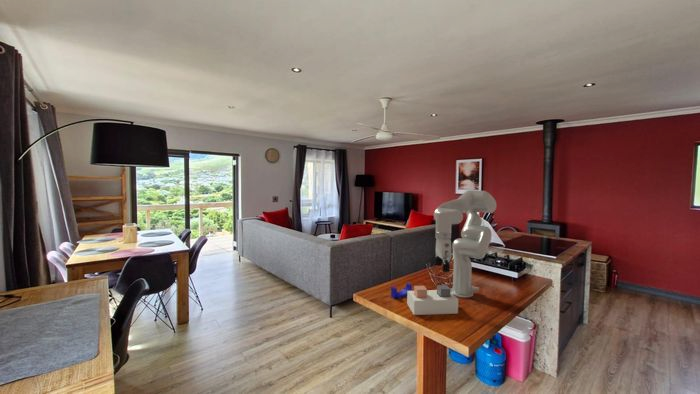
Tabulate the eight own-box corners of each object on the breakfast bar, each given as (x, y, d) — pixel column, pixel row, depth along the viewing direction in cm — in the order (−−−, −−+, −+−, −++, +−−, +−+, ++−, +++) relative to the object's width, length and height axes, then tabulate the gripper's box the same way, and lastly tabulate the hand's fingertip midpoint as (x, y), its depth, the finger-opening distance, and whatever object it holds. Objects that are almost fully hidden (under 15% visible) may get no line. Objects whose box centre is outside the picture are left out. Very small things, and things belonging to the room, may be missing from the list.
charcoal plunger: (446, 297, 148) (446, 285, 147) (450, 301, 143) (450, 288, 143) (436, 297, 148) (437, 285, 147) (440, 301, 143) (440, 289, 142)
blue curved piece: (406, 292, 165) (406, 282, 165) (411, 295, 161) (411, 285, 161) (389, 296, 160) (389, 285, 159) (394, 299, 156) (394, 288, 155)
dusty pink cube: (423, 297, 147) (423, 285, 147) (426, 302, 142) (427, 289, 142) (413, 298, 147) (414, 285, 146) (417, 302, 142) (417, 289, 141)
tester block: (447, 302, 152) (448, 289, 151) (457, 313, 140) (458, 299, 140) (407, 303, 150) (407, 290, 150) (414, 314, 138) (414, 300, 138)
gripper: (458, 239, 135) (456, 274, 136) (443, 231, 152) (443, 263, 153) (442, 239, 134) (441, 274, 136) (430, 231, 152) (429, 263, 153)
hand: (442, 268), depth 145 cm, fingers open, 9 cm apart
